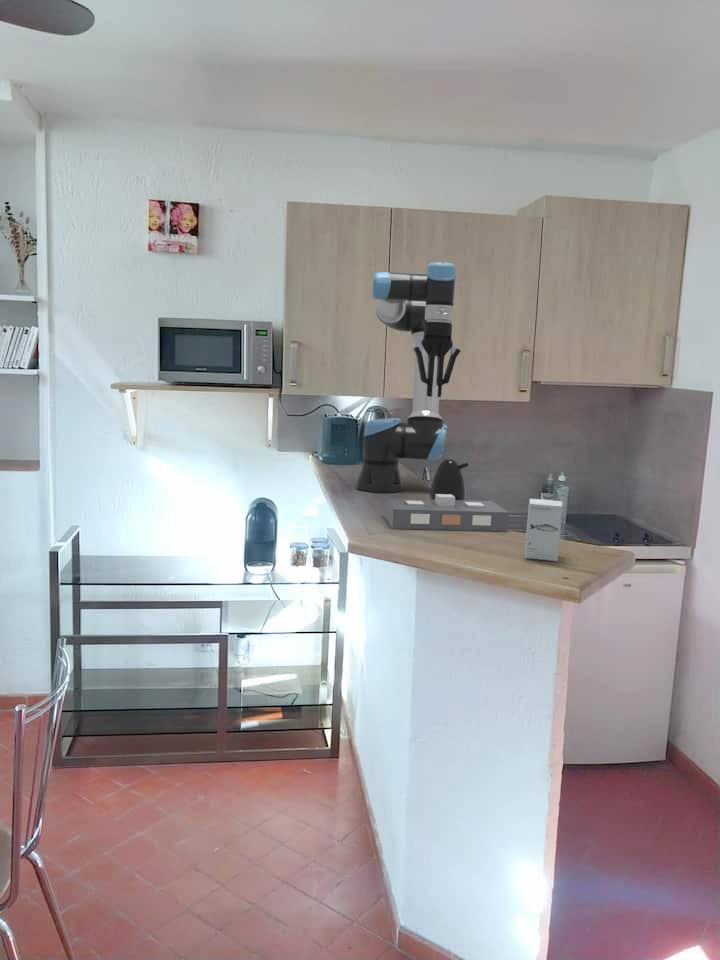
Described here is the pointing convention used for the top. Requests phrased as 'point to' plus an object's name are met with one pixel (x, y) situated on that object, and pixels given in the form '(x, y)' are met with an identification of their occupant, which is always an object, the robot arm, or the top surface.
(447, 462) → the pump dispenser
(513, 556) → the top surface
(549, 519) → the supplement box
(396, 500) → the console
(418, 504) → the button
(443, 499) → the button
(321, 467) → the top surface
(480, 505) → the button
